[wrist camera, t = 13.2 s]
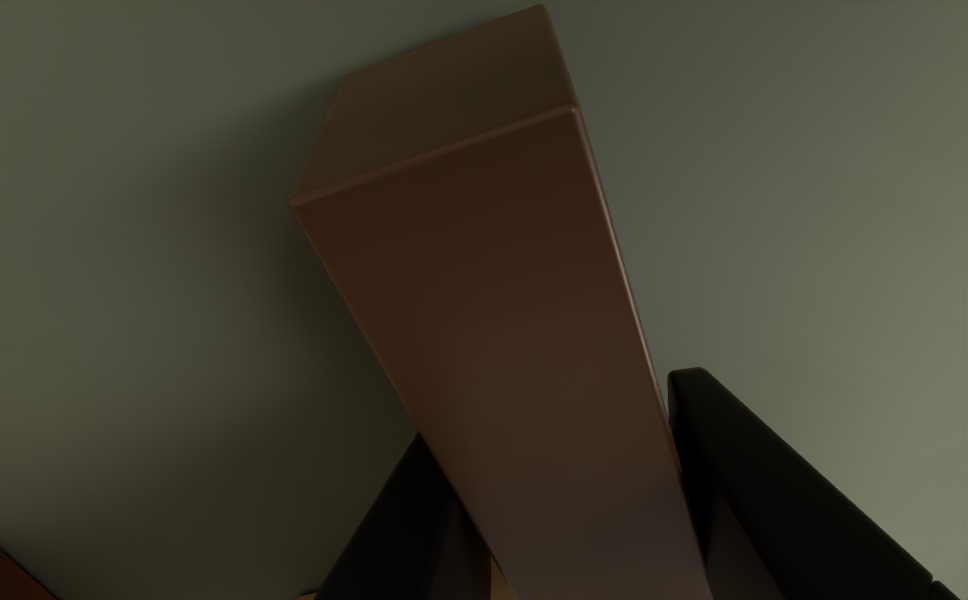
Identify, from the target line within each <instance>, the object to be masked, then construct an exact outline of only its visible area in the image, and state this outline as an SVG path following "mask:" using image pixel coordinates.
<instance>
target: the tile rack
mask: <svg viewBox="0 0 968 600" xmlns="http://www.w3.org/2000/svg"><path fill="white" fill-rule="evenodd" d="M0 600H56V599H55V598H54V597H53V596H52V595H51V594H50V593H49V592H47V591H46V590H45V589H44V588H43V587H42V586H41V585H39V584H38V583H37V582H36V581H35V580H34V579H33V578H32V577H30V576H29V575H28V574H27V573H26V572H25V571H24V570H22V569H21V568H20V567H19V566H18V565H17V564H16V563H15V562H13V561H12V560H11V559H10V558H9V557H8V556H7V555H6V554H4V553H3V552H2V551H1V550H0Z"/></svg>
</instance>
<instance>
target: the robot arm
mask: <svg viewBox="0 0 968 600" xmlns="http://www.w3.org/2000/svg"><path fill="white" fill-rule="evenodd" d="M667 383H668V408H669V424H670V427H671V431H672V434H673V438H674V441H675V445H676V448H677V452H678V455H679V459H680V463H681V466H682V470H683V473H684V477H685V480H686V484H687V487H688V491H689V494H690V498H691V501H692V505H693V509H694V512H695V516H696V519H697V523H698V526H699V530H700V533H701V537H702V540H703V545H704V552H705V566H706V580H707V582H708V585H709V588H710V591H711V594H712V597H713V599H714V600H960V599H959V598H958V597H957V596H956V595H955V594H953V593H952V592H951V591H950V590H949V589H948V588H947V587H946V586H945V585H944V584H943V583H941V582H940V581H933V582H932V580H933V576H932V574H931V573H930V572H929V571H928V570H927V569H925V568H924V567H923V566H922V565H921V564H920V563H919V562H918V561H917V560H916V559H914V558H913V557H912V556H911V555H910V554H909V553H908V552H907V551H906V550H904V549H903V548H902V547H901V546H900V545H899V544H898V543H897V542H896V541H895V540H893V539H892V538H891V537H890V536H889V535H888V534H887V533H886V532H885V531H883V530H882V529H881V528H880V527H879V526H878V525H877V524H876V523H875V522H874V521H872V520H871V519H870V518H869V517H868V516H867V515H866V514H865V513H864V512H862V511H861V510H860V509H859V508H858V507H857V506H856V505H855V504H854V503H853V502H851V501H850V500H849V499H848V498H847V497H846V496H845V495H844V494H843V493H841V492H840V491H839V490H838V489H837V488H836V487H835V486H834V485H833V484H832V483H830V482H829V481H828V480H827V479H826V478H825V477H824V476H823V475H822V474H820V473H819V472H818V471H817V470H816V469H815V468H814V467H813V466H812V465H811V464H809V463H808V462H807V461H806V460H805V459H804V458H803V457H802V456H801V455H799V454H798V453H797V452H796V451H795V450H794V449H793V448H792V447H791V446H790V445H788V444H787V443H786V442H785V441H784V440H783V439H782V438H781V437H780V436H778V435H777V434H776V433H775V432H774V431H773V430H772V429H771V428H770V427H769V426H767V425H766V424H765V423H764V422H763V421H762V420H761V419H760V418H759V417H757V416H756V415H755V414H754V413H753V412H752V411H751V410H750V409H749V408H748V407H746V406H745V405H744V404H743V403H742V402H741V401H740V400H739V399H738V398H736V397H735V396H734V395H733V394H732V393H731V392H730V391H729V390H728V389H727V388H725V387H724V386H723V385H722V384H721V383H720V382H719V381H718V380H717V379H715V378H714V377H713V376H712V375H711V374H710V373H709V372H708V371H707V370H705V369H703V368H701V367H695V368H687V369H680V370H673V371H671V372H670V373H669V374H668V378H667ZM491 576H492V568H491V555H490V553H489V551H488V550H487V548H486V546H485V544H484V543H483V541H482V539H481V538H480V536H479V534H478V532H477V531H476V529H475V527H474V526H473V524H472V522H471V520H470V519H469V517H468V515H467V513H466V512H465V510H464V508H463V507H462V505H461V503H460V501H459V499H458V497H457V495H456V494H455V493H454V491H453V489H452V488H451V486H450V484H449V482H448V481H447V479H446V477H445V476H444V474H443V472H442V470H441V469H440V467H439V465H438V464H437V462H436V460H435V458H434V457H433V455H432V453H431V452H430V450H429V448H428V446H427V445H426V443H425V441H424V439H423V438H422V436H421V434H420V433H419V431H418V433H417V434H416V436H415V438H414V439H413V441H412V442H411V444H410V446H409V447H408V449H407V450H406V452H405V454H404V455H403V457H402V458H401V460H400V461H399V463H398V465H397V466H396V468H395V469H394V471H393V473H392V474H391V476H390V477H389V479H388V481H387V482H386V484H385V485H384V487H383V488H382V490H381V492H380V493H379V495H378V496H377V498H376V500H375V501H374V503H373V504H372V506H371V508H370V509H369V511H368V512H367V514H366V515H365V517H364V519H363V520H362V522H361V523H360V525H359V527H358V528H357V530H356V531H355V533H354V535H353V536H352V538H351V539H350V541H349V542H348V544H347V546H346V547H345V549H344V550H343V552H342V554H341V555H340V557H339V558H338V560H337V562H336V563H335V565H334V566H333V568H332V569H331V571H330V573H329V574H328V576H327V577H326V579H325V581H324V582H323V584H322V585H321V587H320V589H319V590H318V592H317V593H316V595H315V596H314V598H313V600H491Z"/></svg>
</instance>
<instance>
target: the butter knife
mask: <svg viewBox="0 0 968 600" xmlns="http://www.w3.org/2000/svg"><path fill="white" fill-rule="evenodd" d="M287 201H288V207H289V209H290V211H291V212H292V214H293V216H294V218H295V219H296V221H297V223H298V224H299V226H300V228H301V230H302V231H303V233H304V235H305V236H306V238H307V240H308V242H309V243H310V245H311V247H312V249H313V250H314V252H315V254H316V255H317V257H318V259H319V261H320V262H321V264H322V266H323V267H324V269H325V271H326V273H327V274H328V276H329V278H330V279H331V281H332V283H333V285H334V286H335V288H336V290H337V292H338V293H339V295H340V297H341V298H342V300H343V302H344V304H345V305H346V307H347V309H348V310H349V312H350V314H351V316H352V317H353V319H354V321H355V323H356V324H357V326H358V328H359V329H360V331H361V333H362V335H363V336H364V338H365V340H366V341H367V343H368V345H369V347H370V348H371V350H372V352H373V353H374V355H375V357H376V359H377V360H378V362H379V364H380V366H381V367H382V369H383V371H384V372H385V374H386V376H387V378H388V379H389V381H390V383H391V384H392V386H393V388H394V390H395V391H396V393H397V395H398V396H399V398H400V400H401V402H402V403H403V405H404V407H405V409H406V410H407V412H408V414H409V415H410V417H411V419H412V421H413V422H414V424H415V426H416V427H417V429H418V431H419V433H420V434H421V436H422V438H423V439H424V441H425V443H426V445H427V446H428V448H429V450H430V452H431V453H432V455H433V457H434V458H435V460H436V462H437V464H438V465H439V467H440V469H441V470H442V472H443V474H444V476H445V477H446V479H447V481H448V482H449V484H450V486H451V488H452V489H453V491H454V493H455V494H456V495H457V497H458V499H459V501H460V503H461V505H462V507H463V508H464V510H465V512H466V513H467V515H468V517H469V519H470V520H471V522H472V524H473V526H474V527H475V529H476V531H477V532H478V534H479V536H480V538H481V539H482V541H483V543H484V544H485V546H486V548H487V550H488V551H489V553H490V555H491V556H492V558H493V560H494V562H495V563H496V565H497V567H498V569H499V570H500V572H501V574H502V575H503V577H504V579H505V581H506V582H507V584H508V586H509V587H510V589H511V591H512V593H513V594H514V596H515V598H516V599H517V600H714V599H713V597H712V594H711V591H710V588H709V585H708V582H707V580H706V566H705V552H704V545H703V540H702V537H701V533H700V530H699V526H698V523H697V519H696V516H695V512H694V509H693V505H692V501H691V498H690V494H689V491H688V487H687V484H686V480H685V477H684V473H683V470H682V466H681V463H680V459H679V455H678V452H677V448H676V445H675V441H674V438H673V434H672V431H671V427H670V424H669V420H668V416H667V413H666V409H665V406H664V402H663V399H662V395H661V392H660V388H659V385H658V381H657V377H656V374H655V370H654V367H653V363H652V360H651V356H650V353H649V349H648V346H647V342H646V339H645V335H644V331H643V328H642V324H641V321H640V317H639V314H638V310H637V307H636V303H635V300H634V296H633V292H632V289H631V285H630V282H629V278H628V275H627V271H626V268H625V264H624V261H623V257H622V254H621V250H620V246H619V243H618V239H617V236H616V232H615V229H614V225H613V222H612V218H611V215H610V211H609V207H608V204H607V200H606V197H605V193H604V190H603V186H602V183H601V179H600V176H599V172H598V168H597V165H596V161H595V158H594V154H593V151H592V147H591V144H590V140H589V137H588V133H587V130H586V126H585V122H584V119H583V115H582V112H581V108H580V105H579V102H578V99H577V96H576V93H575V90H574V87H573V84H572V81H571V78H570V75H569V72H568V69H567V66H566V63H565V60H564V57H563V54H562V51H561V48H560V45H559V42H558V39H557V36H556V33H555V30H554V27H553V24H552V21H551V18H550V15H549V12H548V9H547V7H546V6H545V5H544V4H537V5H535V6H532V7H529V8H527V9H524V10H521V11H518V12H516V13H513V14H510V15H508V16H505V17H502V18H500V19H497V20H494V21H491V22H489V23H486V24H483V25H481V26H478V27H475V28H473V29H470V30H467V31H464V32H462V33H459V34H456V35H454V36H451V37H448V38H446V39H443V40H440V41H437V42H435V43H432V44H429V45H427V46H424V47H421V48H418V49H416V50H413V51H410V52H408V53H405V54H402V55H400V56H397V57H394V58H391V59H389V60H386V61H383V62H381V63H378V64H375V65H373V66H370V67H367V68H364V69H362V70H359V71H356V72H354V73H351V74H348V75H346V76H345V77H344V78H343V80H342V82H341V84H340V86H339V89H338V91H337V93H336V95H335V97H334V99H333V102H332V104H331V106H330V108H329V110H328V112H327V115H326V117H325V119H324V121H323V123H322V125H321V128H320V130H319V132H318V134H317V136H316V138H315V140H314V143H313V145H312V147H311V149H310V151H309V153H308V156H307V158H306V160H305V162H304V164H303V166H302V169H301V171H300V173H299V175H298V177H297V179H296V182H295V184H294V186H293V188H292V190H291V192H290V195H289V197H288V199H287Z"/></svg>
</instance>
